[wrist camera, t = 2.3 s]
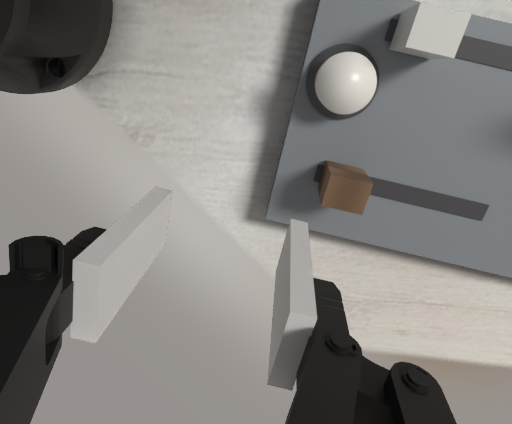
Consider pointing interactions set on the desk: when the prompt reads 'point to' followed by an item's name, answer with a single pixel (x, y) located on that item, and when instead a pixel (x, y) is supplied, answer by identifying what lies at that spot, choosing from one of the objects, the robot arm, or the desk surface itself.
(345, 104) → the button
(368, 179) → the slider
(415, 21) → the slider
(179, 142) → the desk surface
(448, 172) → the panel
